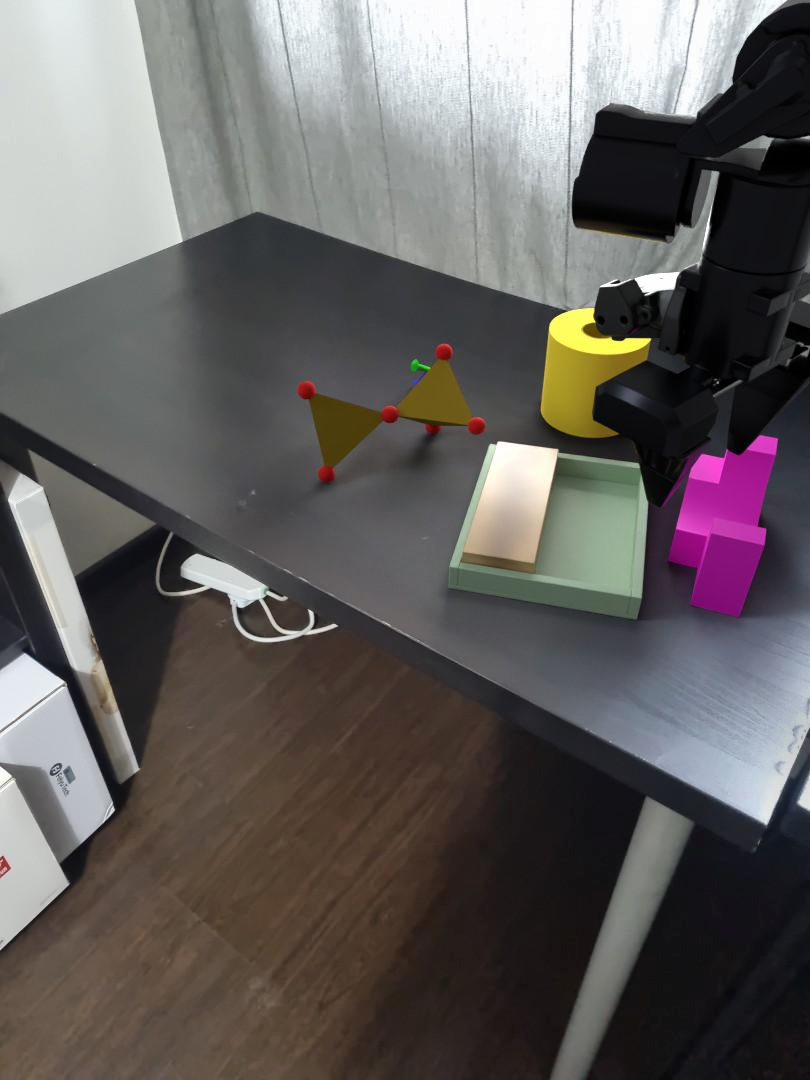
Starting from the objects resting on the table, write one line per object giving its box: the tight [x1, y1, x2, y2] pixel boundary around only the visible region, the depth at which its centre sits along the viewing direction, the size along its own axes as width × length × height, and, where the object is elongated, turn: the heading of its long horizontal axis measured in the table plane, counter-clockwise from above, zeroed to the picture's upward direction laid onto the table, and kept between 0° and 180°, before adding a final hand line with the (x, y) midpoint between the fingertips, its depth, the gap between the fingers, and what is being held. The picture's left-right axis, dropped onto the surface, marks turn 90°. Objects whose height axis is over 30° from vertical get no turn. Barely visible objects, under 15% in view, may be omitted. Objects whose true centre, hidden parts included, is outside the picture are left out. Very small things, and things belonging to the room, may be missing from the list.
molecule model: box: [296, 343, 486, 484], centre depth 82 cm, size 16×18×12 cm
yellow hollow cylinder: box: [540, 307, 652, 439], centre depth 85 cm, size 10×10×9 cm
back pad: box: [462, 441, 560, 574], centre depth 73 cm, size 6×16×3 cm, turn 165°
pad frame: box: [447, 443, 649, 621], centre depth 72 cm, size 15×18×2 cm
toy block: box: [667, 434, 779, 618], centre depth 69 cm, size 15×6×8 cm, turn 158°
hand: (696, 477), depth 57 cm, fingers open, 9 cm apart
